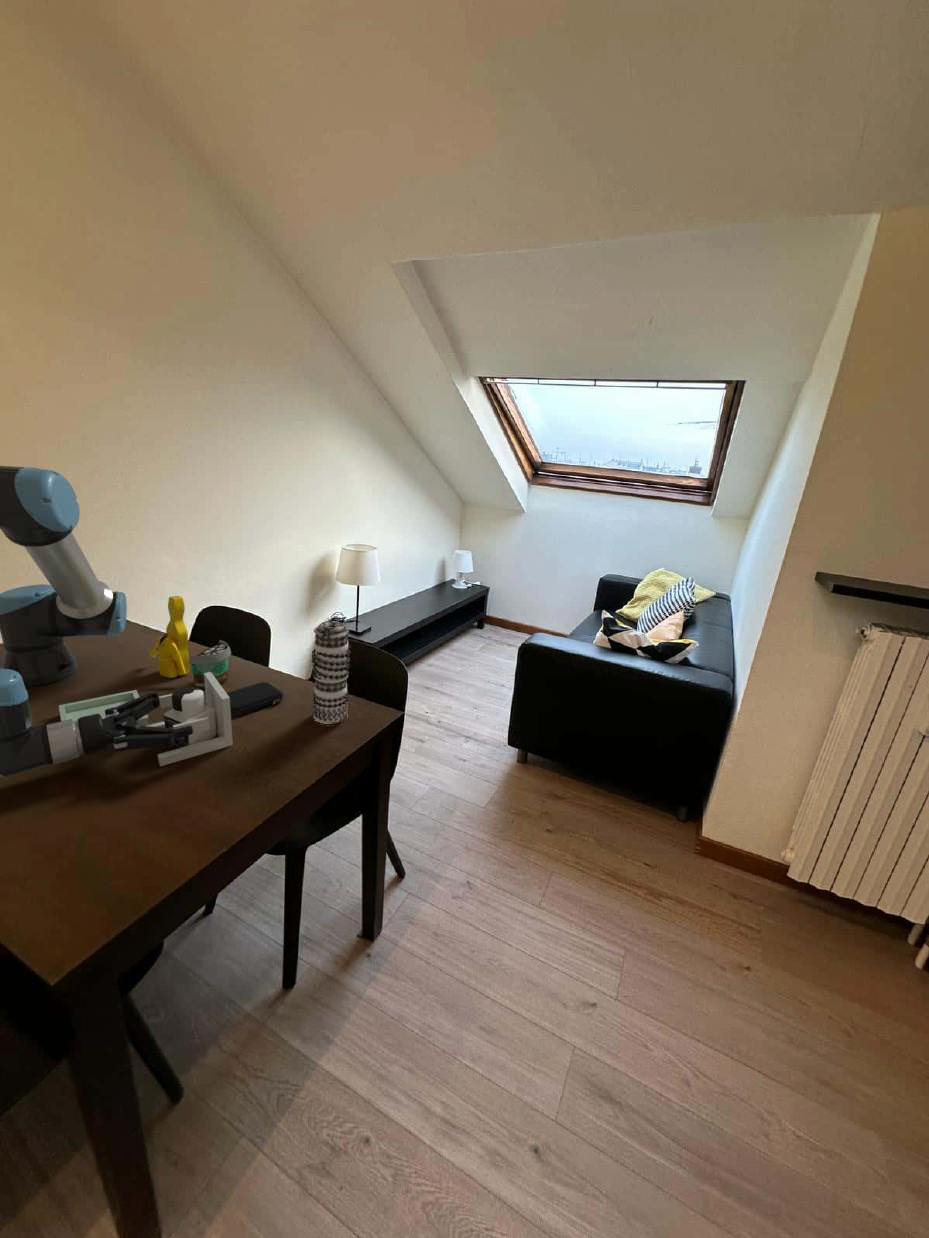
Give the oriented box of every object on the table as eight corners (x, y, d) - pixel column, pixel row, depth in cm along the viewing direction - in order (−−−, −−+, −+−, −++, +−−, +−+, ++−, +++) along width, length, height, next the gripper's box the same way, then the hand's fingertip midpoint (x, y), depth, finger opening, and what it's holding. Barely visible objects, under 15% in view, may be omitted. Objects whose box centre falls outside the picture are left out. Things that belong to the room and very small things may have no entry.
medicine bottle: (166, 741, 107) (160, 693, 103) (194, 726, 113) (190, 680, 109) (189, 751, 104) (184, 702, 100) (217, 735, 111) (213, 689, 107)
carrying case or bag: (233, 723, 117) (289, 703, 128) (233, 712, 116) (288, 692, 127) (212, 705, 123) (267, 688, 134) (211, 695, 122) (266, 678, 133)
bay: (146, 733, 109) (140, 685, 105) (214, 716, 118) (210, 671, 114) (160, 766, 99) (153, 715, 95) (232, 745, 108) (229, 697, 104)
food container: (212, 695, 127) (209, 660, 124) (191, 690, 128) (188, 656, 125) (242, 675, 138) (240, 643, 135) (222, 671, 139) (220, 639, 136)
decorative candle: (356, 718, 124) (359, 627, 115) (324, 730, 117) (325, 634, 109) (336, 703, 129) (338, 615, 121) (304, 714, 123) (304, 622, 114)
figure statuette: (143, 667, 137) (134, 593, 129) (172, 659, 143) (164, 587, 136) (178, 688, 128) (170, 610, 121) (207, 678, 134) (201, 603, 127)
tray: (60, 714, 112) (58, 705, 111) (137, 698, 122) (136, 689, 121) (65, 747, 102) (63, 737, 101) (149, 726, 111) (148, 717, 110)
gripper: (76, 723, 104) (187, 699, 117) (89, 789, 87) (217, 751, 100) (70, 692, 101) (184, 671, 115) (82, 753, 84) (215, 720, 98)
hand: (200, 708), depth 108 cm, fingers open, 13 cm apart
